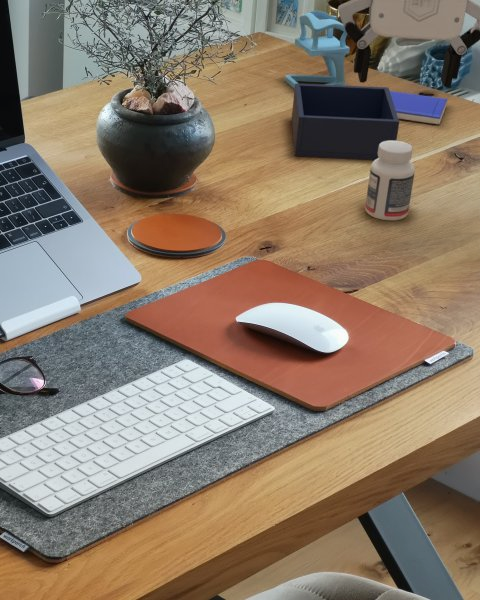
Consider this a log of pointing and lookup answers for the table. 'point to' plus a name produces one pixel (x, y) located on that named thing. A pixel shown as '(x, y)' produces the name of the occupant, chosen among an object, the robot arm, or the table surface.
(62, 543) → the table surface
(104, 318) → the table surface
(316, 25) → the chair
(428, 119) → the blue book
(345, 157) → the bin
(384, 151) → the pill bottle
